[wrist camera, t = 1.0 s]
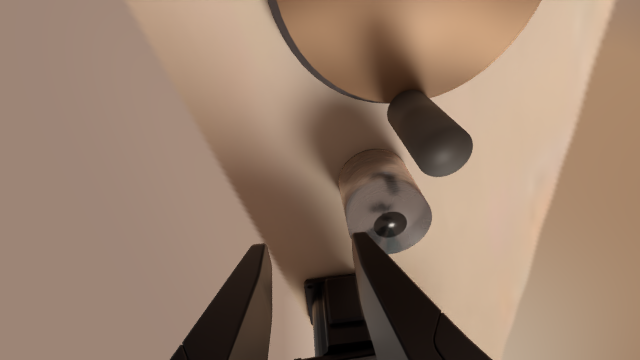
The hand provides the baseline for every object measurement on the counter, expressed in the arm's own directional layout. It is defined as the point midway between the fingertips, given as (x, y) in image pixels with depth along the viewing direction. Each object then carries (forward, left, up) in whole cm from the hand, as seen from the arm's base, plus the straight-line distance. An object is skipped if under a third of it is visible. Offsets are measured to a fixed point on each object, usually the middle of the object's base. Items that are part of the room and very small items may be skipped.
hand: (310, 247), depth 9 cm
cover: (-6, -4, -12) cm, 14 cm away
